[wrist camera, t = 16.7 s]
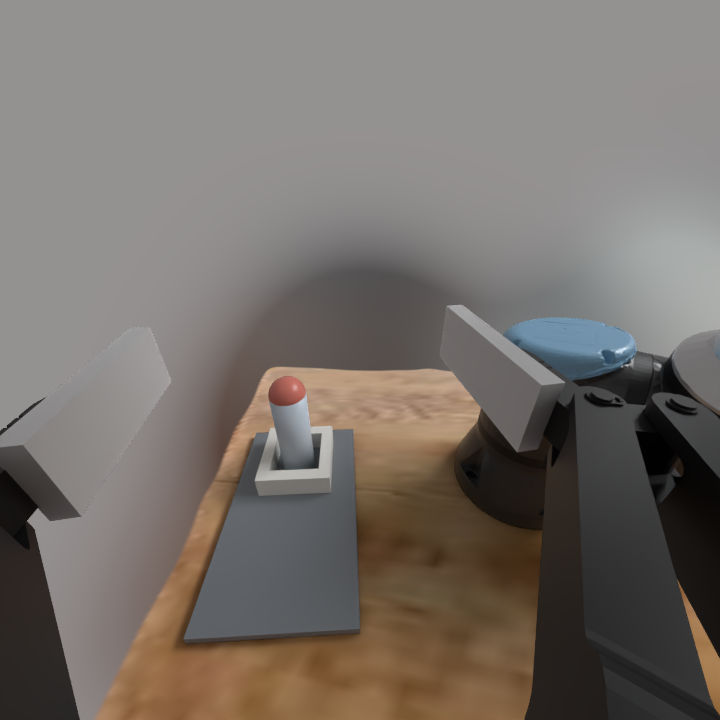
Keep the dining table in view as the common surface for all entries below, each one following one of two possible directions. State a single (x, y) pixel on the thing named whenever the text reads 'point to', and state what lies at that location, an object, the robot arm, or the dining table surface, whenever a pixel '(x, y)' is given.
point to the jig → (285, 548)
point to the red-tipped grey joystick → (292, 423)
